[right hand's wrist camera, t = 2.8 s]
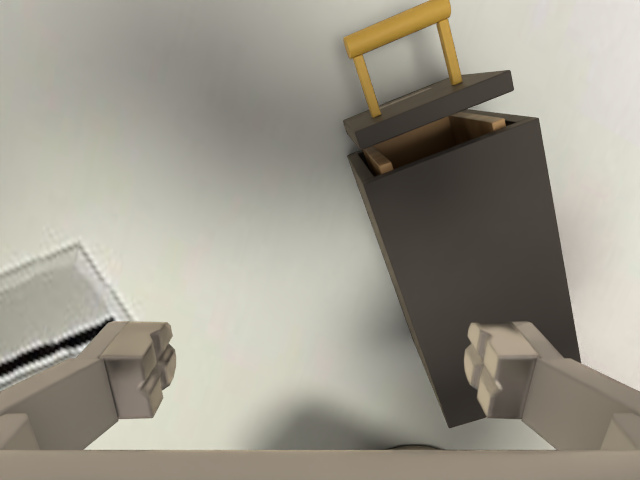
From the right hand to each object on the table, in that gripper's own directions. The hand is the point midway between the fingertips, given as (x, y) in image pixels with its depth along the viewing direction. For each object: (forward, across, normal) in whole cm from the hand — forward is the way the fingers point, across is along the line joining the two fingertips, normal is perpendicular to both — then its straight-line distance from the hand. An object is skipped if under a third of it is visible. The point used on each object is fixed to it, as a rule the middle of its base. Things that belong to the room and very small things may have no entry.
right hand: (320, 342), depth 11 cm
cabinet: (+26, +11, -7) cm, 29 cm away
